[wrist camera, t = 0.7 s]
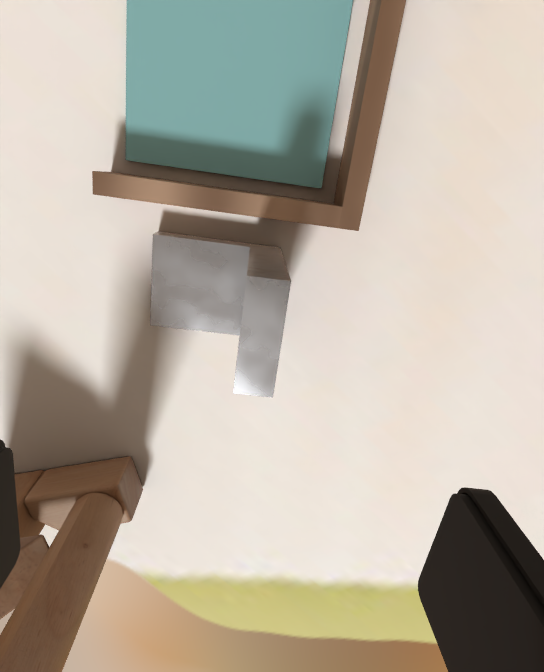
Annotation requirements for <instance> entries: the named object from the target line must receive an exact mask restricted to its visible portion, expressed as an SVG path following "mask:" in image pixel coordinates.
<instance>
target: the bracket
mask: <svg viewBox="0 0 544 672" xmlns="http://www.w3.org/2000/svg"><path fill="white" fill-rule="evenodd" d="M290 284H291V280H290V277H289V273H288V270H287V267H286V264H285V261H284V258H283V255H282V251H281V248H280V247H273V246H266V245H258V244H251V243H243V242H236V241H228V240H221V239H213V238H206V237H198V236H191V235H183V234H175V233H168V232H160V231H158V232H156V233H154V234H153V253H152V285H151V316H150V325H153V326H162V327H171V328H180V329H188V330H197V331H206V332H214V333H223V334H232V335H240V337H239V346H238V355H237V363H236V372H235V381H234V390H233V393H234V394H244V395H254V396H264V397H273V393H274V387H275V381H276V374H277V368H278V361H279V355H280V348H281V342H282V336H283V329H284V323H285V316H286V310H287V303H288V297H289V291H290Z"/></svg>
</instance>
